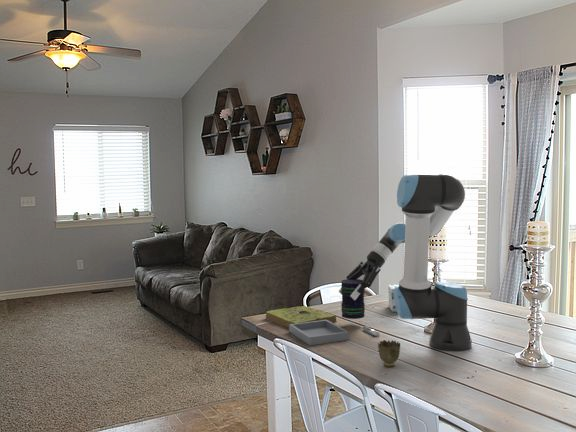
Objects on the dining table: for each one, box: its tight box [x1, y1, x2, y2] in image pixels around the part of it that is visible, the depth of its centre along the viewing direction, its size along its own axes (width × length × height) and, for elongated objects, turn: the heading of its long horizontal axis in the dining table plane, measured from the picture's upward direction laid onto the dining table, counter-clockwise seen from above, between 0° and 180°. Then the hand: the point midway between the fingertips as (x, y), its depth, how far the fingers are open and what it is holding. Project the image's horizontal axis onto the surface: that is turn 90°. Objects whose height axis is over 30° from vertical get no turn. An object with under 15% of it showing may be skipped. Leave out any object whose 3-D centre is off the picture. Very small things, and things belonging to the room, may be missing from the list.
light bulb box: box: [388, 284, 399, 313], centre depth 274 cm, size 11×7×11 cm, turn 179°
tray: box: [288, 320, 350, 346], centre depth 233 cm, size 20×17×3 cm
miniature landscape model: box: [265, 305, 337, 328], centre depth 257 cm, size 22×24×5 cm
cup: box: [377, 339, 401, 368], centre depth 197 cm, size 8×7×8 cm
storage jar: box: [340, 278, 366, 320], centre depth 247 cm, size 10×10×15 cm
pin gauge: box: [362, 325, 380, 338], centre depth 236 cm, size 10×2×2 cm
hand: (346, 295), depth 245 cm, fingers closed on storage jar, 10 cm apart
